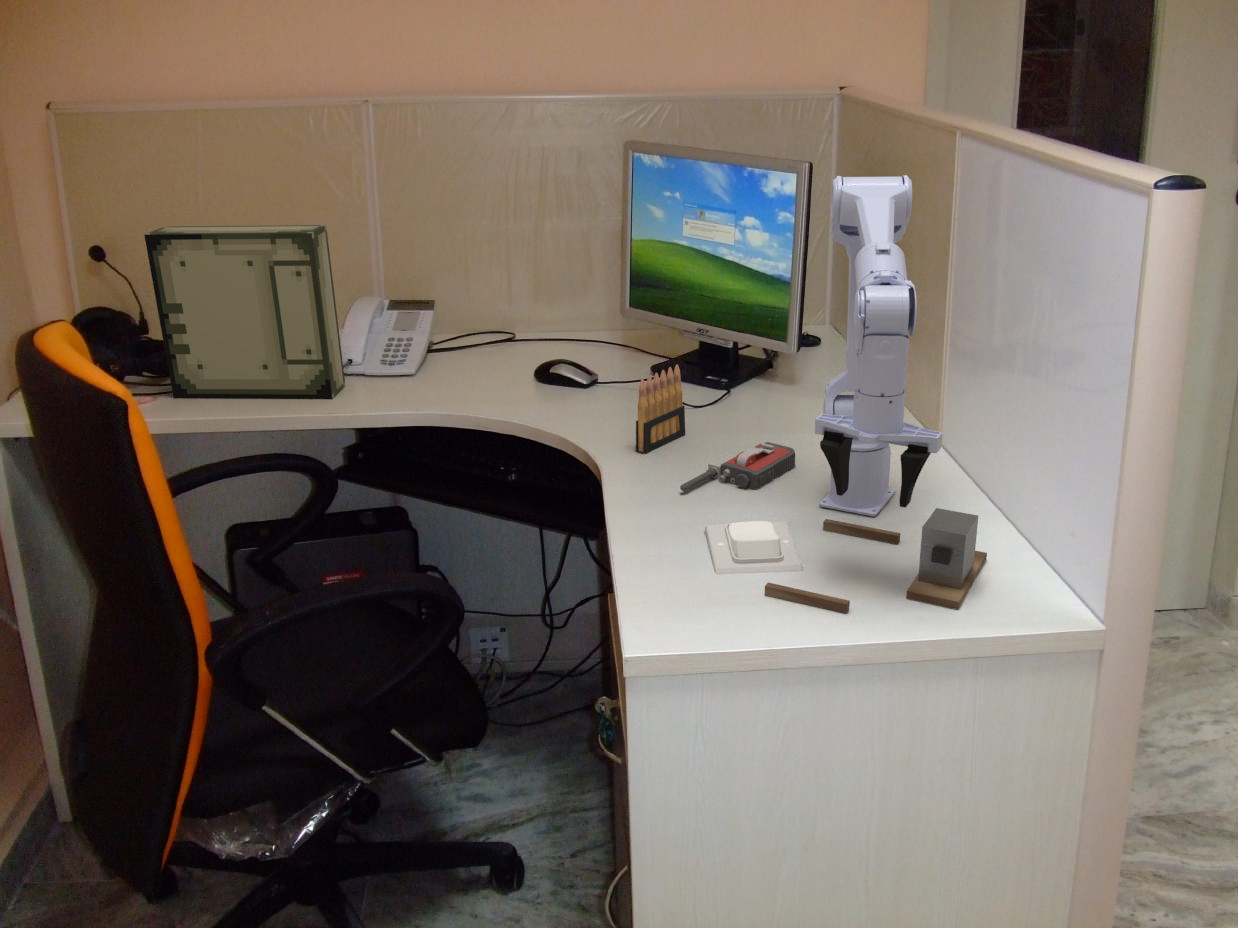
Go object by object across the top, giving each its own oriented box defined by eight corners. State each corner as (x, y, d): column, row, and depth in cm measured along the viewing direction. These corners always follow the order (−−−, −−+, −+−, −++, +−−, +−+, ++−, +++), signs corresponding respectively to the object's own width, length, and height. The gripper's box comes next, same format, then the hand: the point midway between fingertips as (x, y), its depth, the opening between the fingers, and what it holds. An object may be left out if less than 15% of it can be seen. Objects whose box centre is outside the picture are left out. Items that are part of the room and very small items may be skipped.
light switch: (715, 555, 140) (704, 506, 151) (715, 584, 142) (704, 534, 153) (804, 551, 140) (787, 503, 152) (803, 580, 142) (786, 530, 153)
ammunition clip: (644, 454, 179) (643, 380, 174) (635, 452, 180) (633, 378, 176) (685, 434, 187) (685, 363, 182) (676, 432, 188) (675, 361, 183)
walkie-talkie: (753, 453, 179) (675, 495, 165) (753, 427, 177) (675, 467, 163) (802, 466, 174) (726, 510, 159) (803, 438, 172) (726, 481, 158)
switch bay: (825, 526, 153) (825, 518, 152) (899, 541, 148) (900, 532, 148) (764, 594, 136) (764, 585, 135) (846, 613, 131) (846, 604, 131)
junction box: (932, 559, 141) (936, 507, 138) (973, 567, 139) (979, 514, 136) (916, 583, 135) (920, 529, 133) (959, 592, 133) (964, 537, 130)
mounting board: (937, 550, 145) (938, 543, 145) (986, 559, 143) (987, 552, 142) (906, 598, 134) (906, 590, 134) (958, 609, 131) (958, 601, 131)
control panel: (345, 386, 215) (326, 225, 204) (332, 399, 208) (311, 233, 197) (191, 385, 218) (164, 226, 207) (173, 398, 211) (144, 234, 200)
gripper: (807, 390, 132) (803, 499, 137) (933, 408, 125) (924, 522, 130) (828, 373, 137) (824, 478, 142) (950, 390, 130) (941, 499, 136)
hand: (873, 498), depth 137 cm, fingers open, 7 cm apart
